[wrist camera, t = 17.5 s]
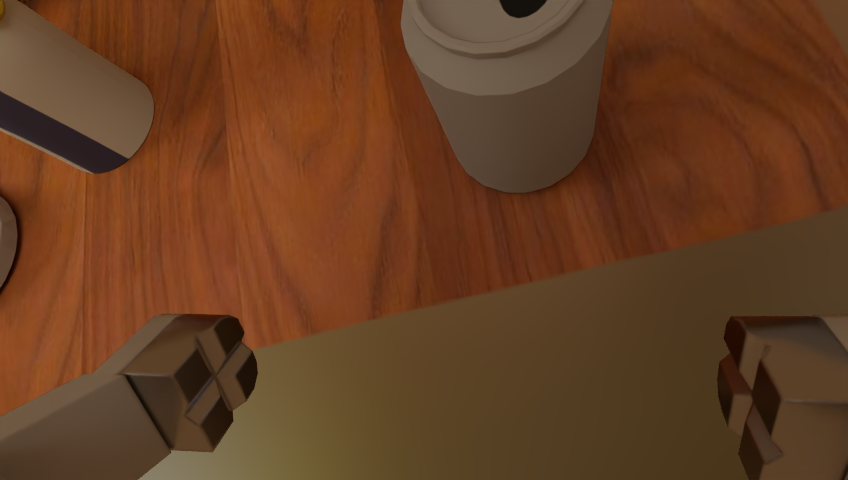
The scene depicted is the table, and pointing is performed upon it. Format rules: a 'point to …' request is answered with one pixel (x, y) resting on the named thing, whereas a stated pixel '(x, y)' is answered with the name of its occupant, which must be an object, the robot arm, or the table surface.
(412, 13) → the can
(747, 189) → the table surface
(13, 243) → the mechanical component
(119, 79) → the water bottle
